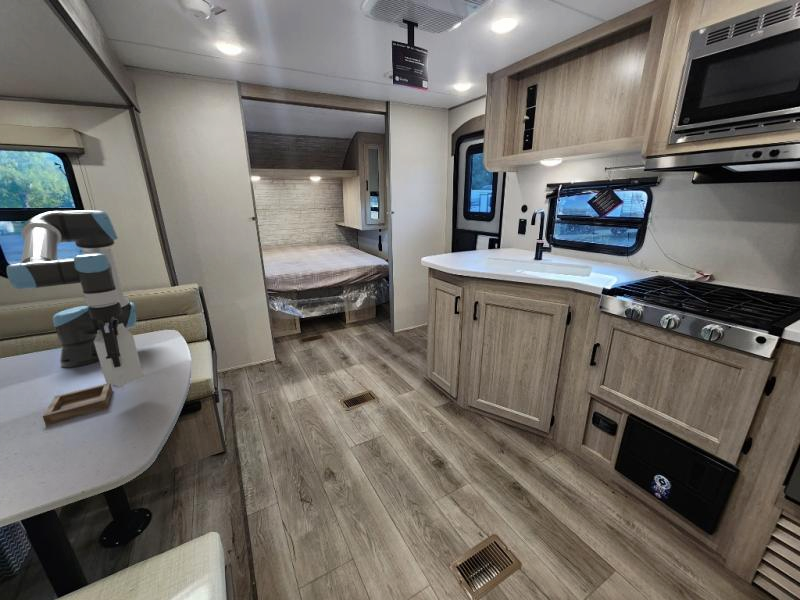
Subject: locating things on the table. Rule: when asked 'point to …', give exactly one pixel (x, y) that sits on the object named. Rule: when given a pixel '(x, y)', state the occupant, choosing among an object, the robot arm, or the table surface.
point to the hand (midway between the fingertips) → (122, 368)
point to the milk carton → (128, 357)
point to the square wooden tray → (78, 403)
